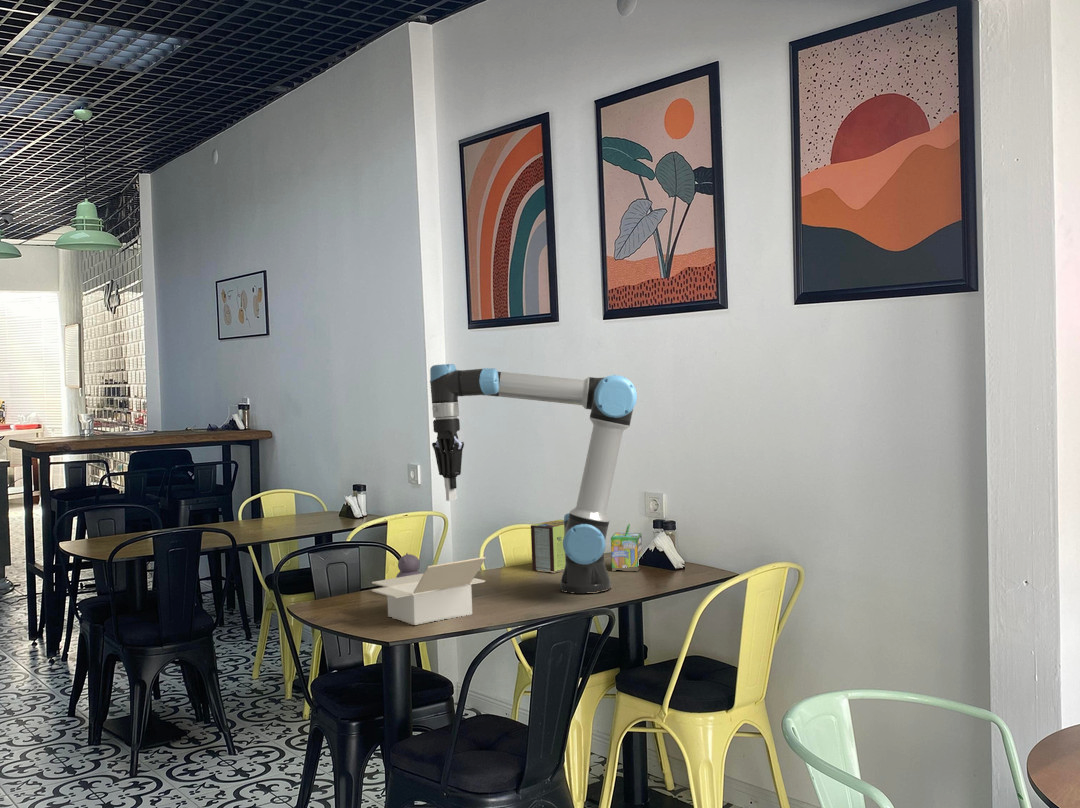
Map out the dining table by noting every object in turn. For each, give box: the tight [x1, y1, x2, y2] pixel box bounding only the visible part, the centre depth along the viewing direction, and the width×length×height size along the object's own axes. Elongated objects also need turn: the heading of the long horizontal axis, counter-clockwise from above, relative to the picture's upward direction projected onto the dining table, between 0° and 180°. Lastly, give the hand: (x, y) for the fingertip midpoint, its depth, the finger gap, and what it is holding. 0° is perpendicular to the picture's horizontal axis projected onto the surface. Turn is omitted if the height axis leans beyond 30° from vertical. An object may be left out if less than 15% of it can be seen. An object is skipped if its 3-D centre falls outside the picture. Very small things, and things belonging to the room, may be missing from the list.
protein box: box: [530, 519, 565, 571], centre depth 324 cm, size 10×15×16 cm
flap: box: [413, 556, 486, 594], centre depth 253 cm, size 11×18×1 cm
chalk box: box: [610, 523, 643, 569], centre depth 318 cm, size 9×9×15 cm
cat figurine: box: [395, 552, 422, 578], centre depth 291 cm, size 8×8×12 cm
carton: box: [371, 572, 486, 625], centre depth 265 cm, size 23×28×8 cm
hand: (451, 500), depth 277 cm, fingers closed
